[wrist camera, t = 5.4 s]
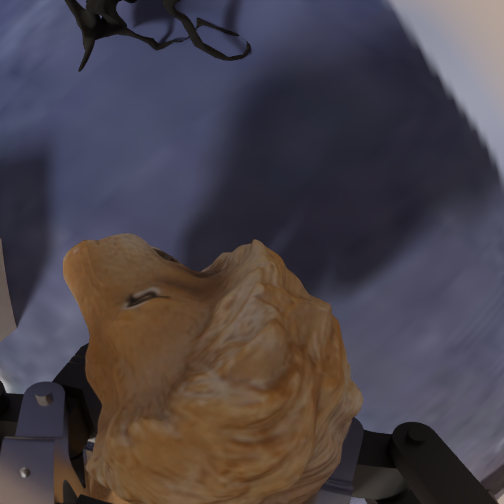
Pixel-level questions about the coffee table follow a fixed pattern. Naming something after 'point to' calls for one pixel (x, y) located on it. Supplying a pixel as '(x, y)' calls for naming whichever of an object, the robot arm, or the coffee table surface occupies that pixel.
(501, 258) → the coffee table surface
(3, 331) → the beige block
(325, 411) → the lion figurine
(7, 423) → the robot arm
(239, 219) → the coffee table surface
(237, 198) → the coffee table surface
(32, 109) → the coffee table surface
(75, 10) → the creature
